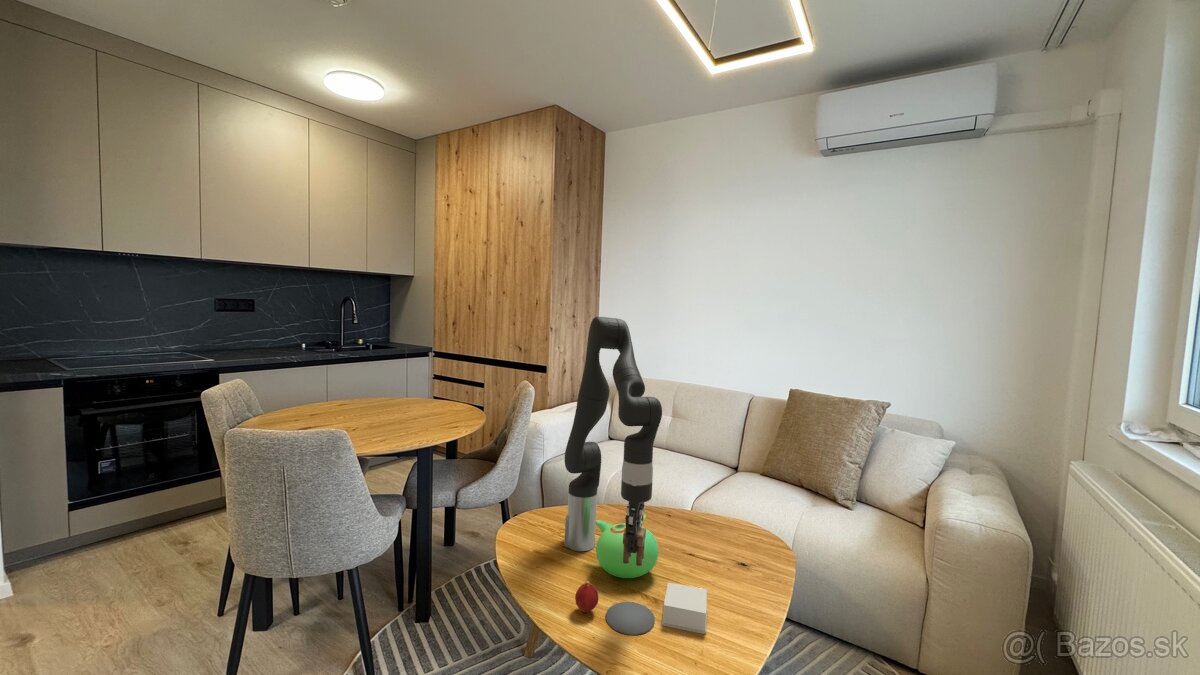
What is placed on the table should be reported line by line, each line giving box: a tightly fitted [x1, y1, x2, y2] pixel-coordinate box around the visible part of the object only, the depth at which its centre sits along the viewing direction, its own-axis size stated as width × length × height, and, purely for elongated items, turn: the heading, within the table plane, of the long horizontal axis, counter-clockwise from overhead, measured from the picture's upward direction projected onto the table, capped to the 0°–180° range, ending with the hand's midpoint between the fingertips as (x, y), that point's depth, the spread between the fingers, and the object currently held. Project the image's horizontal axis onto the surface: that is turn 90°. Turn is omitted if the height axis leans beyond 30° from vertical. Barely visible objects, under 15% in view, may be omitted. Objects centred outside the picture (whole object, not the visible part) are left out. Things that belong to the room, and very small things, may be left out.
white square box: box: [661, 581, 708, 635], centre depth 116 cm, size 10×10×5 cm
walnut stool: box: [623, 526, 647, 566], centre depth 113 cm, size 5×5×7 cm
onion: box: [574, 580, 599, 614], centre depth 116 cm, size 6×6×8 cm
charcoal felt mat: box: [605, 601, 656, 636], centre depth 114 cm, size 12×12×1 cm
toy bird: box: [595, 513, 660, 579], centre depth 134 cm, size 18×17×15 cm
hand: (633, 546), depth 113 cm, fingers closed on walnut stool, 4 cm apart
